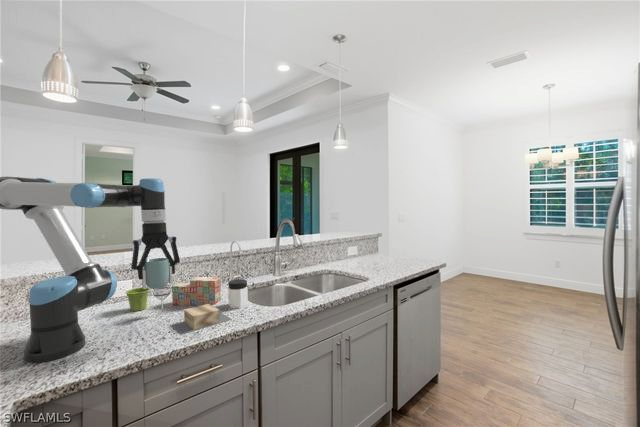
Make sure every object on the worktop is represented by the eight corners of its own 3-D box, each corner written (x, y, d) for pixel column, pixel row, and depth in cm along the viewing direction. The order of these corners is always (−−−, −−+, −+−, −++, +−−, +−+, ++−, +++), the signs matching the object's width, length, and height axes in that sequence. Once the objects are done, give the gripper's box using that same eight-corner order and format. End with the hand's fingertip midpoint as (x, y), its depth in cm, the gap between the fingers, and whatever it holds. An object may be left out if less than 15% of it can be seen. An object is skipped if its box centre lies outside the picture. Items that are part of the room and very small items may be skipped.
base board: (180, 337, 108) (180, 334, 107) (170, 327, 116) (170, 325, 116) (232, 321, 121) (232, 319, 121) (219, 313, 130) (219, 311, 130)
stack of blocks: (172, 305, 142) (171, 279, 141) (179, 301, 148) (178, 276, 147) (215, 306, 140) (214, 280, 139) (221, 302, 146) (220, 277, 145)
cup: (164, 283, 113) (163, 257, 112) (173, 286, 108) (172, 259, 107) (141, 288, 107) (140, 260, 107) (149, 292, 102) (148, 262, 101)
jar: (249, 308, 136) (249, 282, 136) (231, 311, 132) (231, 285, 132) (244, 302, 144) (244, 278, 144) (227, 305, 140) (226, 280, 140)
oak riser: (193, 329, 112) (193, 316, 111) (184, 322, 119) (184, 309, 119) (219, 322, 118) (219, 309, 118) (209, 315, 126) (208, 303, 126)
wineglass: (171, 310, 134) (171, 284, 134) (170, 315, 128) (169, 288, 128) (154, 312, 132) (153, 286, 131) (152, 318, 126) (151, 290, 125)
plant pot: (121, 311, 134) (120, 292, 133) (139, 304, 143) (138, 286, 142) (137, 313, 131) (136, 294, 131) (154, 306, 140) (154, 288, 140)
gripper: (121, 224, 97) (125, 294, 98) (187, 220, 110) (191, 281, 111) (117, 224, 102) (121, 289, 103) (181, 220, 116) (184, 278, 117)
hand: (157, 285), depth 107 cm, fingers closed on cup, 8 cm apart
